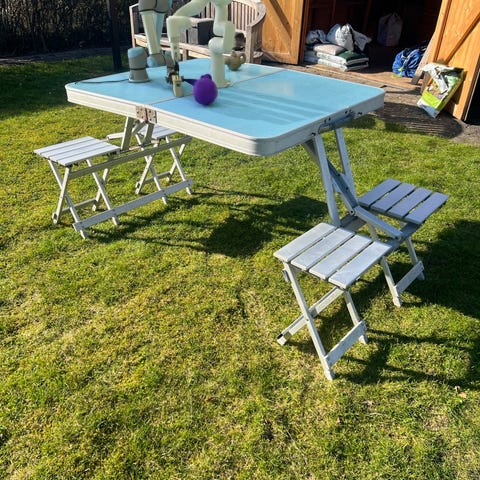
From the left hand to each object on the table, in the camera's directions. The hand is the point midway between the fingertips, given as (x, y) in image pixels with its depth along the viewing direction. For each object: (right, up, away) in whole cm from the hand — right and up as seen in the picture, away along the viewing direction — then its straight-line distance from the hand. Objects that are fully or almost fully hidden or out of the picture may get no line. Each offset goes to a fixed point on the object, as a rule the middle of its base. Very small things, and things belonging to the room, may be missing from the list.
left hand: (176, 82), depth 301 cm
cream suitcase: (+1, -7, 0) cm, 8 cm away
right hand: (+2, +3, -14) cm, 15 cm away
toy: (+19, -21, -24) cm, 37 cm away
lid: (+1, +1, -5) cm, 6 cm away
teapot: (+38, +36, +72) cm, 89 cm away
